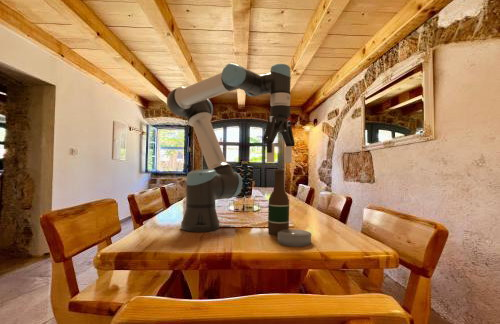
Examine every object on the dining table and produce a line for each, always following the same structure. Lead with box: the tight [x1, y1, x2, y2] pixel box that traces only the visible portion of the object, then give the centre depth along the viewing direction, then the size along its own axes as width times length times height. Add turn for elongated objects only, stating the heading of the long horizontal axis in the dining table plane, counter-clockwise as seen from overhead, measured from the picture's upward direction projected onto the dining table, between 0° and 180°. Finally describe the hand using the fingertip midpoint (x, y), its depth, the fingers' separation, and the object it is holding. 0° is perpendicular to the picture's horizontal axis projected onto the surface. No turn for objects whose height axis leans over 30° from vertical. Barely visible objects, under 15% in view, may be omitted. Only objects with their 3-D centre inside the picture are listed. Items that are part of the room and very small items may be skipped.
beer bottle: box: [267, 168, 290, 237], centre depth 103 cm, size 8×8×24 cm
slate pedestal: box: [277, 228, 312, 248], centre depth 91 cm, size 11×11×3 cm
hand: (279, 162), depth 103 cm, fingers open, 13 cm apart
